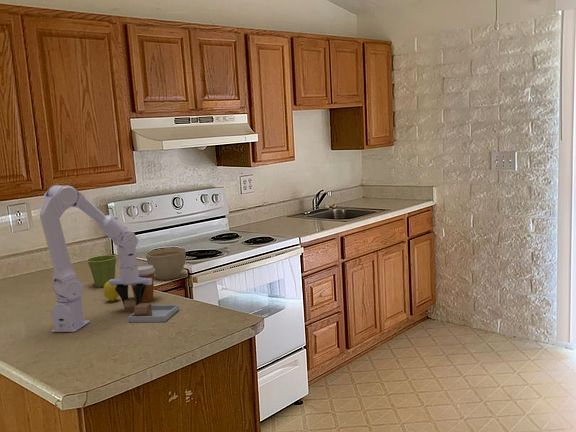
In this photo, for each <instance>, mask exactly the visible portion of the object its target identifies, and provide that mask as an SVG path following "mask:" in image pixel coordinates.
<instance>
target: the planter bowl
mask: <svg viewBox="0 0 576 432" xmlns="http://www.w3.org/2000/svg"><path fill="white" fill-rule="evenodd" d="M186 250H187V249H186V248H183V247H167V248H166V247H165V248H160V249H159V248H158V249H155V250H151V251H149V252H146V253H145V258H146V262H147V265H153V267H154V269H155V271H154V276H155V277H156V279H157V280H161V281H169V280H174V279H178V278H180V277H181V272H183V269H184V267H185V264H186V260H187V259H186V258H187V256H186V252H187V251H186Z"/></svg>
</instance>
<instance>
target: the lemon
mask: <svg viewBox="0 0 576 432" xmlns="http://www.w3.org/2000/svg"><path fill="white" fill-rule="evenodd" d="M116 286H117V285H113V286H109V281H108V282H106V283H105V285H104V287H103V294H104V295H103V296H104V297H105V298H106V299H107V300H109V301H111V302H114V301H115V300H116V299H118V298H119V297H120V296H119V294H118V293H117V292H116V290H115V288H116Z"/></svg>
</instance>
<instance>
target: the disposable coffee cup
mask: <svg viewBox="0 0 576 432" xmlns="http://www.w3.org/2000/svg"><path fill="white" fill-rule="evenodd" d="M154 271H155V269H154V267H153V265H148V264H140V265H138V274H139V277H142V278H152V284H151V285H146V288H145V291H144V294H143V298H142V304H143V303H150V302H152V301H153V300H154V295H155V294H154V286H155V285H154V284H155V283H154V282H155V274H154ZM130 286H131V290H132V295H133V297H136V295H135V291H134V289H133V287H135V286H136V285H130Z"/></svg>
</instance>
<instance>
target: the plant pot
mask: <svg viewBox="0 0 576 432" xmlns="http://www.w3.org/2000/svg"><path fill="white" fill-rule="evenodd" d="M117 258H118V255H115V254H102V255H101V254H100V255H97V256H96V255H95V256H91V257H89V258H87V259H86V260H85V261H86V262H87V264H88V266H89V268H90V271H91V275H92V278H93V281H94V286H95V287H96V288H102V287H103V288H104V285H105V283H106V282H108V281H109V280H111V279H116V278H115V277H116V275H115V274H116V270H115V269H116V262H117Z"/></svg>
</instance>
